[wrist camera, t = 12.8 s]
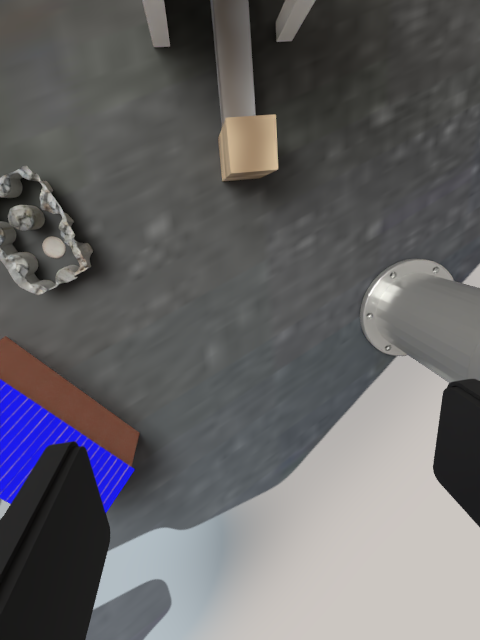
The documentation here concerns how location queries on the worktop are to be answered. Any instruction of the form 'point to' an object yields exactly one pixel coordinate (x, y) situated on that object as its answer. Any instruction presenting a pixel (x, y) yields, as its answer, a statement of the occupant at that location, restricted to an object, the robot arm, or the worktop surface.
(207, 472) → the worktop surface
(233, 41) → the push stick
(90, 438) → the house
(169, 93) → the worktop surface
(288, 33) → the cabinet
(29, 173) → the egg carton
